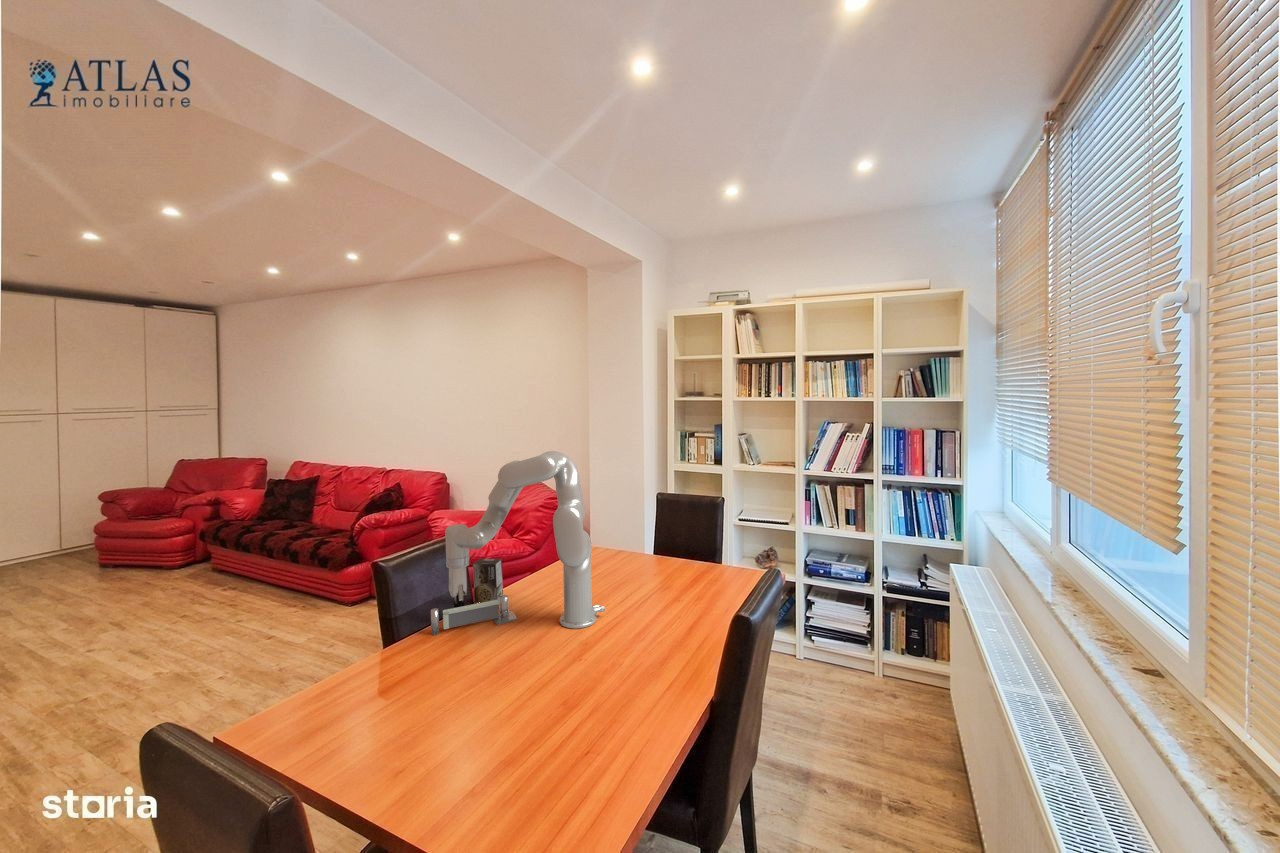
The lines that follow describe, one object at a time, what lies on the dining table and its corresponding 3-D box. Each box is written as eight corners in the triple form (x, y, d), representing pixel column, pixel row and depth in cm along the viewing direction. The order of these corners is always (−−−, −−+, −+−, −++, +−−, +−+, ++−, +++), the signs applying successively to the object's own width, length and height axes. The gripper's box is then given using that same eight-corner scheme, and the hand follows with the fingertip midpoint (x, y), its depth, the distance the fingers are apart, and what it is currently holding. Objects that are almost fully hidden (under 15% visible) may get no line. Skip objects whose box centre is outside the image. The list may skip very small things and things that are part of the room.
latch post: (438, 631, 166) (438, 607, 165) (439, 634, 163) (438, 610, 163) (431, 633, 164) (430, 609, 164) (431, 636, 162) (431, 612, 162)
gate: (498, 615, 174) (497, 599, 174) (499, 617, 173) (498, 601, 172) (443, 627, 166) (442, 610, 165) (443, 629, 164) (443, 612, 164)
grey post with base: (512, 613, 179) (511, 591, 179) (517, 620, 173) (516, 598, 172) (492, 617, 176) (491, 595, 175) (496, 625, 170) (495, 602, 169)
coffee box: (503, 599, 191) (502, 558, 190) (497, 606, 185) (496, 564, 184) (481, 599, 192) (479, 558, 191) (473, 606, 186) (472, 563, 185)
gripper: (443, 556, 177) (445, 607, 178) (449, 569, 164) (450, 623, 165) (465, 553, 181) (467, 603, 182) (472, 565, 168) (474, 618, 169)
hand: (459, 612), depth 173 cm, fingers closed
